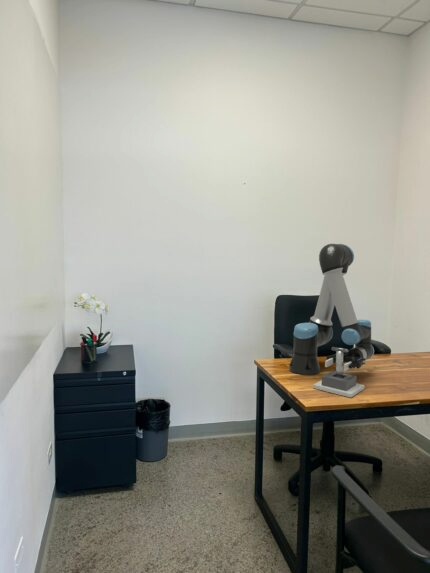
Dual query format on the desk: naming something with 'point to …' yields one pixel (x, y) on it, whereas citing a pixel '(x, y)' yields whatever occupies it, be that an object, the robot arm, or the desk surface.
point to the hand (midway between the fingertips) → (335, 365)
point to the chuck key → (339, 361)
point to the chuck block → (339, 384)
